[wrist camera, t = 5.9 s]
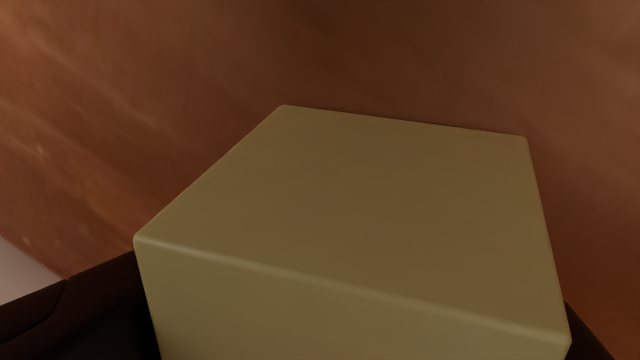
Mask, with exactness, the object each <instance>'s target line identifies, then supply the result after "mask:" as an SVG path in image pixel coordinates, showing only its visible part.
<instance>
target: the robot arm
mask: <svg viewBox="0 0 640 360" xmlns="http://www.w3.org/2000/svg"><path fill="white" fill-rule="evenodd" d="M562 298H563V297H562ZM563 302H564V307H565V311H566V316H567V320H568V325H569V329H570V333H571V338H572V343H571V345H570V348H569V350H568V352H567V354H566V356H565V359H564V360H615V359H614V358H613V356H612V355H611V354H610V353H609V352H608V351H607V349H606V348H605V347H604V346H603V345H602V343H601V342H600V341H599V340H598V339H597V338H596V336H595V335H594V334H593V333H592V332H591V330H590V329H589V328H588V327H587V326H586V325H585V323H584V322H583V321H582V320H581V319H580V317H579V316H578V315H577V314H576V313H575V312H574V310H573V309H572V308H571V307H570V306H569V305H568V303H567V302H566V301H565V300H564V299H563ZM0 360H162V359H161V355H160V351H159V347H158V343H157V339H156V335H155V331H154V326H153V322H152V318H151V314H150V310H149V306H148V302H147V298H146V294H145V290H144V286H143V282H142V278H141V274H140V270H139V266H138V262H137V258H136V254H135V250H132V251H130V252H128V253H125V254H123V255H120V256H118V257H116V258H113V259H111V260H109V261H106V262H104V263H102V264H99V265H97V266H95V267H92V268H90V269H87V270H85V271H83V272H80V273H78V274H76V275H73V276H71V277H69V279H68V280H66V279H64V280H61V281H59V282H57V283H55V284H52V285H50V286H47V287H45V288H43V289H41V290H38V291H36V292H33V293H30V294H28V295H26V296H23V297H21V298H18V299H16V300H13V301H11V302H8V303H6V304H3V305H1V306H0Z"/></svg>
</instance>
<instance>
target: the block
mask: <svg viewBox="0 0 640 360" xmlns="http://www.w3.org/2000/svg"><path fill="white" fill-rule="evenodd" d="M133 246H134V250H135V254H136V258H137V262H138V266H139V270H140V274H141V278H142V282H143V286H144V290H145V294H146V298H147V302H148V306H149V310H150V314H151V318H152V322H153V326H154V331H155V335H156V339H157V343H158V347H159V351H160V355H161V359H162V360H564V359H565V356H566V354H567V352H568V350H569V348H570V345H571V343H572V338H571V333H570V329H569V325H568V320H567V316H566V311H565V307H564V302H563V298H562V293H561V289H560V284H559V280H558V275H557V271H556V266H555V262H554V257H553V253H552V249H551V244H550V240H549V235H548V231H547V226H546V222H545V217H544V213H543V208H542V204H541V199H540V195H539V190H538V186H537V181H536V177H535V173H534V168H533V164H532V159H531V155H530V150H529V146H528V141H527V138H526V137H524V136H518V135H511V134H503V133H496V132H488V131H481V130H473V129H466V128H458V127H450V126H443V125H435V124H428V123H420V122H413V121H405V120H398V119H390V118H382V117H375V116H367V115H360V114H352V113H345V112H337V111H330V110H322V109H315V108H307V107H299V106H292V105H284V104H283V105H280V106H279V107H278V108H277V109H276V110H274V111H273V112H272V113H271V114H270V115H269V116H268V117H267V118H265V119H264V120H263V121H262V122H261V123H260V124H259V125H258V126H256V127H255V128H254V129H253V130H252V131H251V132H250V133H248V134H247V135H246V136H245V137H244V138H243V139H242V140H241V141H239V142H238V143H237V144H236V145H235V146H234V147H233V148H232V149H230V150H229V151H228V152H227V153H226V154H225V155H224V156H222V157H221V158H220V159H219V160H218V161H217V162H216V163H215V164H213V165H212V166H211V167H210V168H209V169H208V170H207V171H206V172H204V173H203V174H202V175H201V176H200V177H199V178H198V179H196V180H195V181H194V182H193V183H192V184H191V185H190V186H189V187H187V188H186V189H185V190H184V191H183V192H182V193H181V194H180V195H178V196H177V197H176V198H175V199H174V200H173V201H172V202H171V203H169V204H168V205H167V206H166V207H165V208H164V209H163V210H161V211H160V212H159V213H158V214H157V215H156V216H155V217H154V218H152V219H151V220H150V221H149V222H148V223H147V224H146V225H145V226H143V227H142V228H141V229H140V230H139V231H138V232H137V233H135V235H134V237H133Z"/></svg>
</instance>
